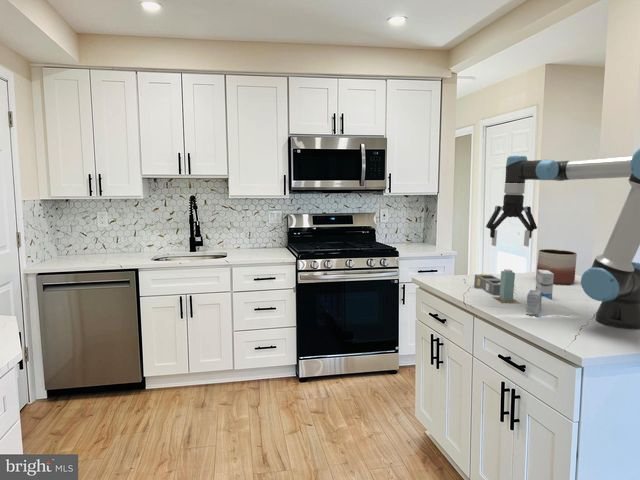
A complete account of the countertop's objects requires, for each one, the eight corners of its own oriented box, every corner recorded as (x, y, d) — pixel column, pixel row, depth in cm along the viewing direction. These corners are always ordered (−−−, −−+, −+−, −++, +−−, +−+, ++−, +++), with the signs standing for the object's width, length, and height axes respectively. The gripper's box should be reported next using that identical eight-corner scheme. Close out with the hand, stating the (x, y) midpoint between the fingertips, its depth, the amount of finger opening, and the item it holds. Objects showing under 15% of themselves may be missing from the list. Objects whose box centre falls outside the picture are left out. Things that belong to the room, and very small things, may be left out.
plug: (512, 301, 184) (515, 271, 182) (503, 301, 183) (505, 270, 182) (508, 298, 188) (510, 269, 186) (499, 298, 187) (501, 269, 186)
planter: (539, 276, 243) (541, 248, 241) (576, 281, 233) (579, 251, 231) (532, 281, 229) (535, 251, 227) (571, 287, 219) (574, 255, 216)
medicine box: (538, 317, 166) (540, 295, 165) (525, 315, 169) (527, 293, 168) (540, 312, 173) (542, 291, 172) (528, 310, 175) (530, 289, 174)
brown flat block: (520, 306, 181) (521, 303, 181) (501, 306, 181) (501, 303, 180) (509, 300, 191) (509, 296, 191) (491, 300, 190) (491, 296, 190)
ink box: (552, 300, 193) (554, 273, 191) (539, 299, 194) (542, 273, 192) (546, 295, 201) (548, 269, 199) (534, 294, 202) (536, 269, 200)
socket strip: (511, 298, 194) (512, 284, 193) (492, 298, 194) (493, 284, 193) (490, 286, 216) (491, 273, 215) (473, 286, 215) (474, 273, 214)
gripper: (539, 194, 184) (535, 245, 187) (480, 193, 183) (476, 244, 186) (549, 195, 177) (544, 247, 179) (487, 193, 176) (483, 246, 179)
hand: (509, 245), depth 183 cm, fingers open, 13 cm apart
